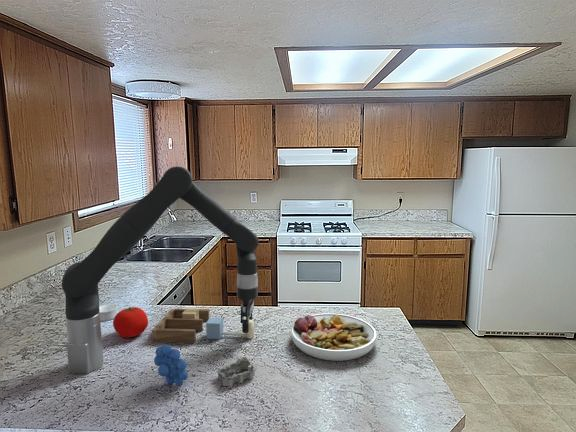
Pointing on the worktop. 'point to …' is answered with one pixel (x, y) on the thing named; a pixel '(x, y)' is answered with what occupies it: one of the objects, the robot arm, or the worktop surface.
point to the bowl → (333, 336)
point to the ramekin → (107, 312)
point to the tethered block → (216, 329)
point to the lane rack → (179, 327)
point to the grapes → (171, 365)
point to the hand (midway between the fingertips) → (247, 327)
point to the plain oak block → (190, 314)
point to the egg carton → (235, 367)
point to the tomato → (130, 322)
